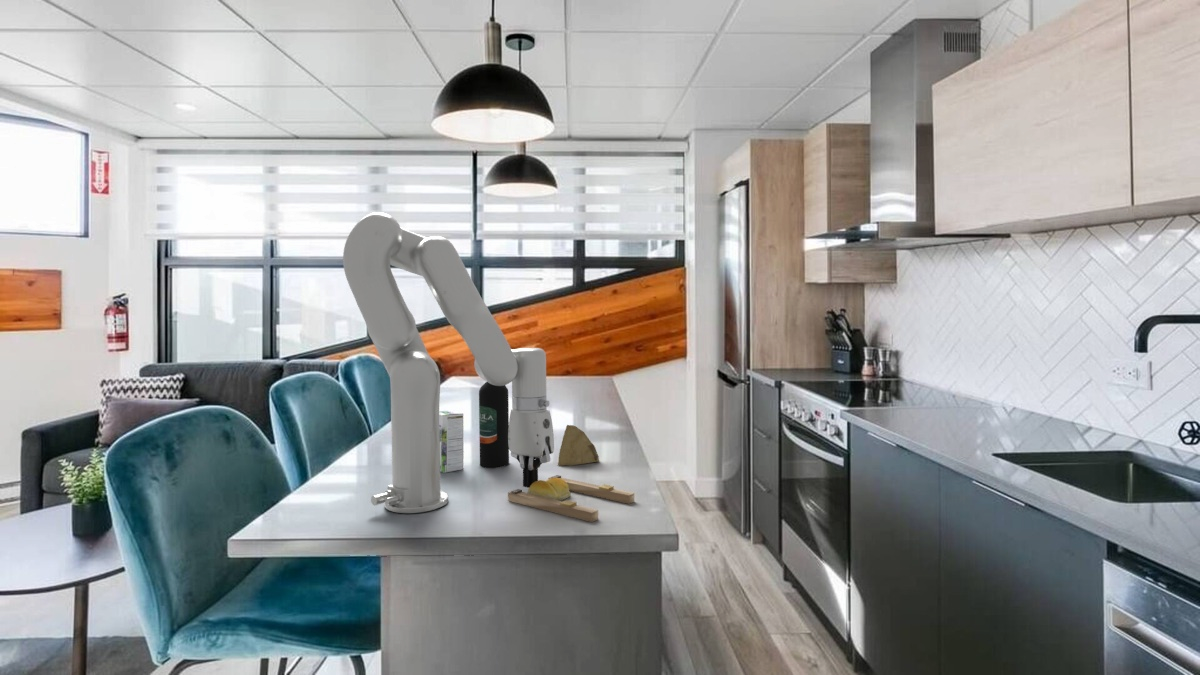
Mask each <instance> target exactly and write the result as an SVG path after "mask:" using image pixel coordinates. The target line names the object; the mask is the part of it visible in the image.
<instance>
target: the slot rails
mask: <svg viewBox="0 0 1200 675" xmlns="http://www.w3.org/2000/svg"><path fill="white" fill-rule="evenodd" d="M550 478H560V479H563V480H564V481H565V482H566V483H567V484H568V486H569V490H570V492H573V491H574V492H573V493H578V492H579V493H578V494H582V493H584V494H583V495H587V494H588V495H587V496H591V495H593V496H592V497H596V496H597V497H596V498H600V497H601V498H600V499H605V498H606V500H609V499H610V500H611V501H615V502H619V503H623V504H628V505H631V504H632V503H634V502H635V492H633V491H632V492H631V491H626V490H621V489H617V488H615V487H614V485H610V484H605V483H604V484H602V485H597V484H593V483H589V482H585V481H584V482H583V481H579V480H574V479H570V478H569V479H568V478H563V477H562V475H559V474H555V475H554V476H550V477H548V479H550ZM548 479H547V480H548ZM507 494H508V495H507V497H508V498H507V499H508V500H507V501H508V502H513V503H515V504H519V505H524V506H527V507H531V508H534V509H540V510H542V511H548V512H551V513H555V514H558V515H563V516H567V517H571V518H574V519H579V520H582V521H586V522H589V523H593V522H596V521H598V520H599V509H596V508H595V509H594V508H592V507H588V506H584V505H578V504H577V503H578V502H576V501H573V500H569V499H565V500H564V501H563V500H554V499H550V498H546V497H542V496H538V495H534V494H529V493H528V492H525V491H523V489H520V488H516V489H513V490H510V491H509V492H508V493H507ZM610 500H609V501H610Z"/></svg>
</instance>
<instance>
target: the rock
mask: <svg viewBox="0 0 1200 675" xmlns="http://www.w3.org/2000/svg"><path fill="white" fill-rule="evenodd" d="M599 457H600V456H599V454H598V452H597V448H596V447H595V445H594V443H593V442H592V441H591V439H589V437H588V436H587V434H586V433H585V431H583V430H581V429H580V428H579V427H578V426H576V425H571V424H567V425H566V427H565V430H564V434H563V437H562V441H561V446H560V448H559V453H558V462H557V466H558V465H559V466H558V467H561V466H578V465H584V464H590V463H596V462H600V458H599Z"/></svg>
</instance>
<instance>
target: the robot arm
mask: <svg viewBox="0 0 1200 675" xmlns="http://www.w3.org/2000/svg"><path fill="white" fill-rule="evenodd" d="M342 264H343V265H342V266H343V270H344V271H343V272H344V274H345V278H346V280H347V283H348V286H349V288H350V290H351V293H352V295H353V297H354V300H355V303H356V305H357V308H358V309H359V312H360V313H361V315H362V318H363V321H364V323H365V325H366V329H367V332H368V336H369V337H370V339H371V341H372V343H373V345H374V347H375V349H376V352H377V353H378V356H379V358H380V359H381V362H382V364H383V366H384V368H385V370H386V372H387V374H388V377H389V380H390V381H389V382H390V429H391V430H390V432H391V464H392V466H391V470H392V471H391V472H392V476H391V477H392V484H389V485H387V490H385V492H384V493H378V494H374V495H372V496H371V497H370V503H371V504H372V506H377V505H381V504H384V507H385V509H386V510H387V511H390V512H393V513H398V514H419V513H425V512H431V511H435V510H436V509H437V510H438V509H440V508H441V507H444V506H445V505H447V504H448V502H449V495H448V493H446V492H444V491H443V490H441V471H440V428H439V411H440V397H441V396H440V395H441V374H440V370H439V366H438V365H437V363H436V361H435V360H434V359H433V358H432V357H431V356H430V355H429V352H428V350H427V348H426V345H425V344H424V341H423V339H422V337H421V334H420V331H419V330H418V328H417V324H416V320H415V317H414V315H413V314H412V312H411V311H410V309H409V308H408V306H407V304H406V302H405V300H404V296H402V293H401V291H400V289H399V286H398V283H397V281H396V278H395V276H394V274H393V272H392V268H391V266H392V267H394V268H397V269H400V270H403V271H405V272H409V273H411V274H413V275H414V274H415V275H417V276H421V277H423V279H424V281H425V283H426V284H427V286H428V288H429V289H430V291H431V293H432V295H433V297H434V299H435V300H436V302H437V304H438V306H439V308H440V310H441V311H442V312H441V313H442V314H443V315H444V317H445V319H446V320H447V322H448V323H449V324H450V325H451V326H452V327H453V328H454V329H455V330H456V332H457V333H458V334H459V336H460V337H461V338H462V339H463V341H464V342H465V344H466V345H467V347H468V349H469V350H470V352H471V354H472V356H473V358H474V362H473V364H474V365H473V366H474V370H475V373H476V374H477V375H478V376H479V378H481V379H482V380H483V381H485V382H489V383H490V384H492V385H495V386H504V385H505V386H506V385H509V384H511V395H512V396H511V398H512V399H511V400H512V401H511V403H512V406H511V407H512V409H510V414H509V429H508V446H509V452H510V456H511V457H513V458H514V459H516V460H517V461H518V462H519V467H520V468H521V469H522V487H524V488H528V489H529V487H530V486H531V484H532V483H534V482H535V481H539V468H540V467H541V465H542V464H547V463H549V462H551V455H552V454H554V452H555V437H554V427H553V421H552V415H551V412H550V410H549V409H548V407H550V401H549V400H547V355H546V354H547V353H546V351H545V350H544V349H543V348H540V347H539V348H538V347H520V348H515V349H514V348H513V349H512V348H511V346H510V344H509V342H508V340H507V338H506V336H505V335H504V334H505V333H503V331H502V329H501V327H500V326H499V324H498V323H497V321H496V319H495V317H494V316H493V315H492V313H491V311H490V309H489V307H488V306H487V304H486V303H485V301H484V299H483V298H482V297H481V295H480V292H479V291H478V288H477V286H476V285H475V284H474V282H473V281H474V280H472V278H471V276H470V274H469V272H468V269H467V268H466V266H465V264H464V262H463V260H462V258H461V257H460V255H459V253H458V250H456V248H455V246H454V244H452V242H451V241H450V240H449V239H448V238H445V237H443V236H439V235H437V236H436V235H432V236H429V237H426V236H423V235H420V234H417V233H415V232H412V231H410V230H407V229H405V228H403V227H401V225H400V223H399V222H398V221H397V220H396V219H395V218H394V217H393V216H391V215H390V214H388V213H385V212H372V213H369V214H367V215H366V216H364V217H362V218H361V219H360V220H359V221H358V222H357V223H356V224H355V225H354V227H352V229H351V231H350V232H349V234H348V236H347V239H346V241H345V243H344V249H343V255H342Z"/></svg>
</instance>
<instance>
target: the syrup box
mask: <svg viewBox="0 0 1200 675" xmlns="http://www.w3.org/2000/svg"><path fill="white" fill-rule="evenodd" d="M439 428H440V473H443V474H445V473H449V472H455V471H460V470H464V467H465V466H464V464H465V462H464V453H465V452H464V413H463V412H459V411H455V410H439Z"/></svg>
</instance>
